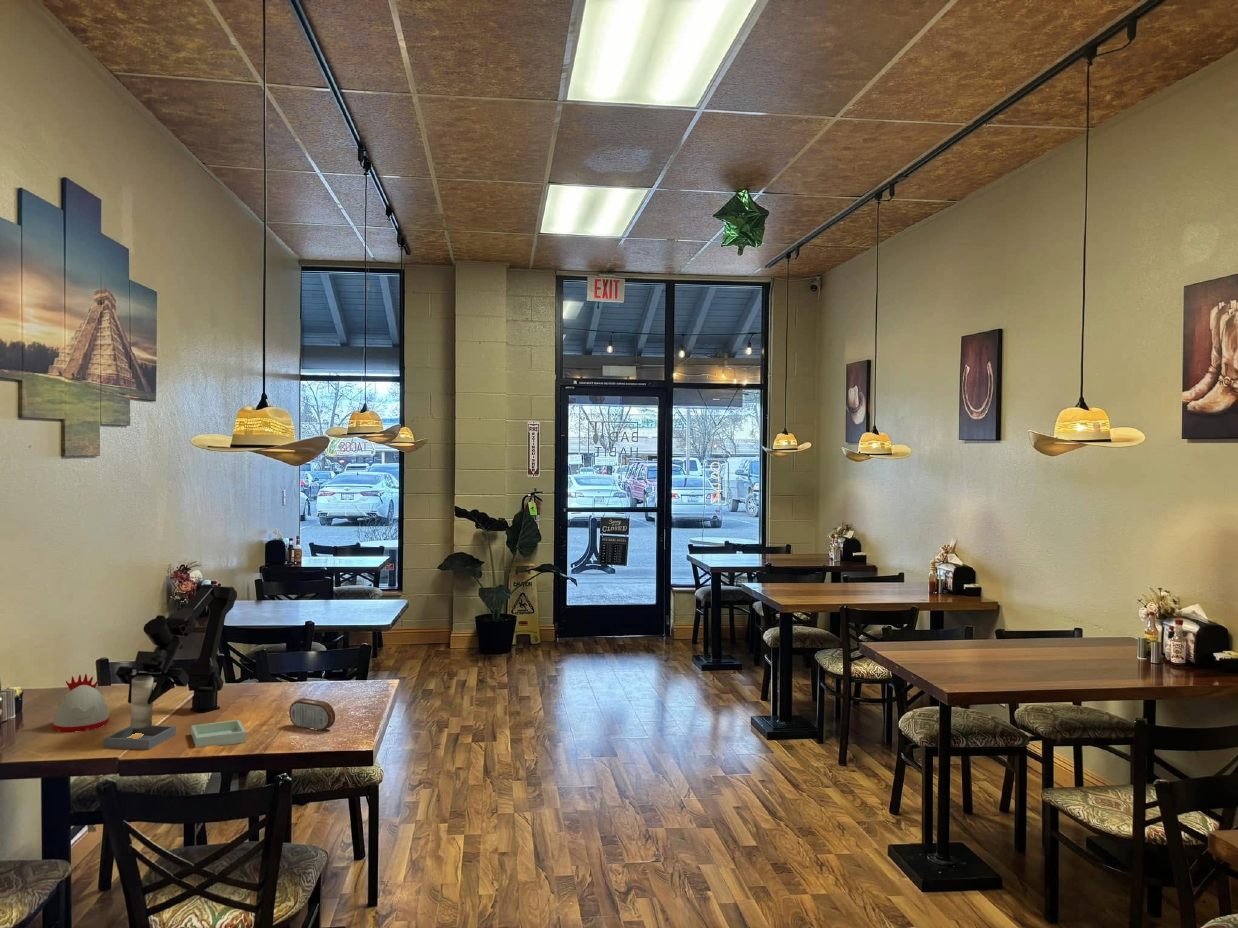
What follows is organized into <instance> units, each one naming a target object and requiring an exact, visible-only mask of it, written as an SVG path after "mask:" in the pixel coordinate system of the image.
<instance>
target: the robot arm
mask: <svg viewBox="0 0 1238 928" xmlns="http://www.w3.org/2000/svg"><path fill="white" fill-rule="evenodd" d="M237 597H238V591H237V590H236V589H235V588H234V587H233V586H221V585H217V584H211V583H203V584H201V585H200V586H199V588H198V590H197V591H196V593H195V594H194V595H193V596H192V597H191V598H190V599H189V601H188V602H187V603H186V604H185V605H184V606H183V608H181V609H180V610H177V611H174V612H172V613H171V614H170V615H168V616H167V617H166V616H165V615H164V614H162V615H160V614H158V615H156V617H155V618H152V619H151V620H149V621H148V622H146V623H145V624H144V625H143V632H144V633H145V635H146V636H147V637H148V639H149V641H150V642H151V643H152V644H153V645H154V646H155V647H154V650H153V651H146V650H145V651H144V650H138V651H137V653H136V657H135V661H134V663H135V664H139V665H140V668H141V669H142V670H143V671H141V670H140V671H139V670H137V668H136V667H135V666H134V665H120V666H119V667H118V668H117V669H116V671H115V673H114V674H115V675H116V677H117V678H118V679H119V680H120V681H121V683H122V684H125V685H128V687H129V688H128V697H127V702H128V704H130V705H131V692H132V679H133V678H134V677H137V676H143V675H149V676H152V677H153V680H156V683H155V685H154V686H153V691H152V693H151V695H150V697H149V699H148V702H147V703H148V704H151V703H154V702H155V701H156V700H158V699H159V698H160V697H162V696H163V695H164V694H166V693H167V692H169V691H170V690H174V689H175V688H176V687H180V688H181V687H183V688H184V687H185V688H186V687H187V686H188V691H189V692H192V691H193V696H192V697H191V699H192V700H191V707H189V710H190V711H194V712H199V713H201V714H202V713H206V712H210V711H211V712H212V711H214V710H219V709H221V706H219V705H218V692H219V691H222V689H223V687H224V680H223V679H222V677H221V676H220V674H219V672H220V667H219V664H218V662H217V655H218V652H219V651H218V650H219V647H220V642H221V637H222V633H223V629H224V625H225V621H226V616H227V614H229V612H230V611H232V609H233V608H234V606H235V602H236V600H237ZM206 608H208V611H209V614H208V618H207V622H206V626H205V631H204V635H203V640H202V644H201V646H200V647H201V648H200V652H199V654H198V655H199V656H198V658H197V659H196V660H195V661H191V663H190V664H189V668H188V669H189V670H188V673H186V672H185V670H184V668H181V667H180V668H179V667H173V666H174V665H175V662H174V658H175V657H176V655H177V653H178V651H179V650H184V644H183V641H182V639H180V637H189V636H190V635H191V633H192V632H193V630H194V629H195V627H196V620H197V618H198V617H199V616H200V615H201V613H202V612H203V611H204V610H205V609H206Z"/></svg>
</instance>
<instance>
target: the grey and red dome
mask: <svg viewBox="0 0 1238 928" xmlns="http://www.w3.org/2000/svg"><path fill="white" fill-rule="evenodd" d="M93 679H94V677H93V676H91V677H90V679H89V680H88V675H87V673H85V674H84V677H83V680H82V675H81V674H79V675H78V678H77V681H75V678H74V676H73V675H71V680H70V683H69V681H68V680H65V683H66V685H67V688H68V689H69V691H68V692H67V693H65V695H63V697H62V699H61V700H60V701H58V703H57V707H56V710H55V713H54V717H53V720H52V730H53V731H54V732H58V731H60V732H59V733H76V732H75V731H82V732H87V730H88V731H93V730H96V729H95V728H97V729H100V728H102V727H101V726H103V725H105V726H107V725H108V724H109V723H108V722H110V713H109V708H108V706H107V703H106V701H105V699H104V697H103V695H102V694H101V693H100V691H99V690H98V689H97V688H96V687H97V686H98V683H99V679H97V680H95V681H96V682H94V683H93ZM92 683H93V684H92ZM107 723H108V724H107ZM106 724H107V725H106ZM99 727H100V728H99ZM103 727H104V726H103Z"/></svg>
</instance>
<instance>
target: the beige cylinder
mask: <svg viewBox="0 0 1238 928" xmlns="http://www.w3.org/2000/svg"><path fill="white" fill-rule="evenodd" d="M153 689H154V679H153V677H152V676H149V675H143V676H137V677H134V678H133V679H132V692H131V704H130V722H129V723H130V725H129V726H130V727H131V728H135V729H139V728H146V727H149V726H151V725H153V703H154V702H153V703H151V704H148V703H147V702H148V699H149V697H150V695H151V693H152V691H153Z"/></svg>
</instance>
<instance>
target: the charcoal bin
mask: <svg viewBox="0 0 1238 928" xmlns="http://www.w3.org/2000/svg"><path fill="white" fill-rule="evenodd" d="M135 733H142V734H144V735H143V736H142V737H141V738H139V739H133V738H127V737H129V736H131V735H132V734H135ZM176 735H177V726H176V725H159V724H158V725H157V724H152V725H151V726H149V727H146V728H139V729H135V728H131V727H130V725H129V726H127V727H124V728H123V729H120V730H117V732H113V733H112V734H110V735H107V736H105V737H104V738H103V748H105V749H124V750H127V749H128V750H147V751H149V750H151V749H153V748H155V747H157V746H158V745H160V744H163V743H164V742H166V741H168V740H170V739H172V738H174V737H175V736H176Z"/></svg>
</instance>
